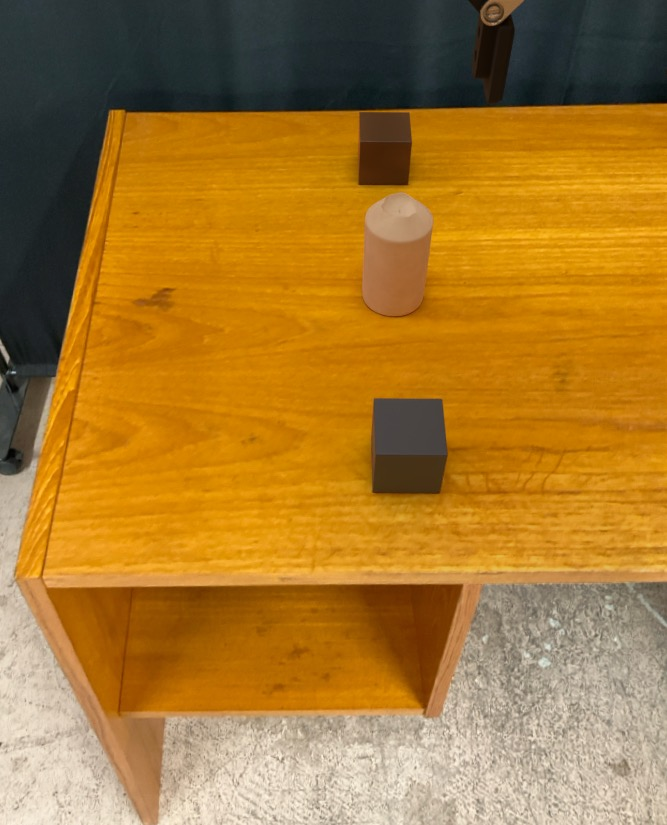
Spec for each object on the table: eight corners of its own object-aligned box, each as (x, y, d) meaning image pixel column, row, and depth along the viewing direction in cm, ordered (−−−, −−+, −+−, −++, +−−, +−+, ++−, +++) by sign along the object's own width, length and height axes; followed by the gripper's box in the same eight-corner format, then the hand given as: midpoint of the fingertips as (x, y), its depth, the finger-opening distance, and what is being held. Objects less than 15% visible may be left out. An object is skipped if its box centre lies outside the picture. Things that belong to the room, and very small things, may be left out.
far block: (405, 155, 86) (409, 112, 82) (408, 185, 83) (412, 141, 79) (358, 154, 86) (359, 111, 82) (358, 184, 83) (359, 141, 79)
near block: (435, 438, 63) (442, 398, 59) (440, 493, 60) (447, 455, 56) (370, 437, 63) (373, 397, 59) (372, 493, 60) (375, 454, 56)
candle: (429, 313, 72) (442, 223, 64) (368, 320, 71) (373, 230, 63) (415, 270, 75) (426, 179, 67) (356, 277, 74) (360, 186, 66)
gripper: (467, -340, 26) (420, 131, 40) (1009, -336, 26) (776, 134, 40) (449, -387, 31) (412, 50, 44) (910, -384, 31) (731, 53, 44)
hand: (584, 89), depth 42 cm, fingers open, 9 cm apart
